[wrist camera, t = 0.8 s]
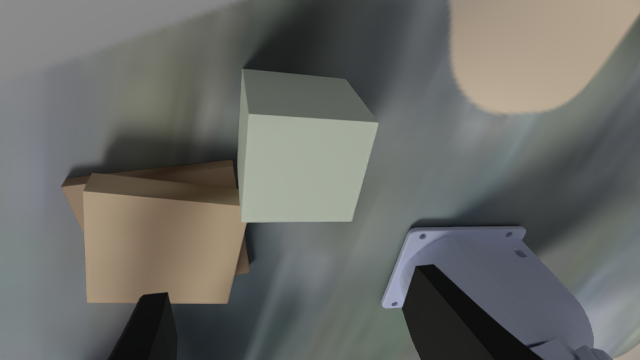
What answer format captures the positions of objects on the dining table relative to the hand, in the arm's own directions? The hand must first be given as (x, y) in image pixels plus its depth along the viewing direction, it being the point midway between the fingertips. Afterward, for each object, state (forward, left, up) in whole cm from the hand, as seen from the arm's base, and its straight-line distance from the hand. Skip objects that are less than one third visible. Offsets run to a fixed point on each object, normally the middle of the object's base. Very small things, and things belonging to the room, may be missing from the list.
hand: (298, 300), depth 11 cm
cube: (-1, -1, -10) cm, 11 cm away
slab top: (+5, +6, -10) cm, 12 cm away
